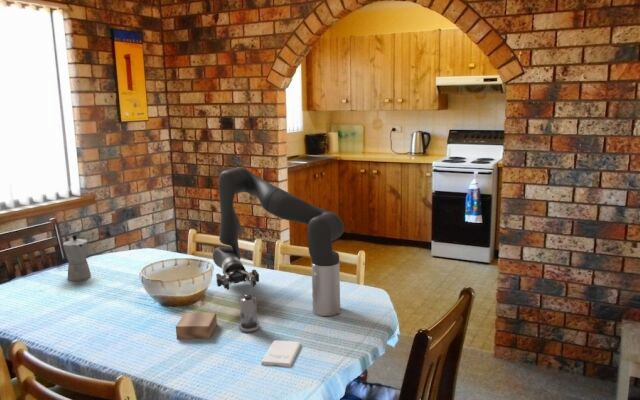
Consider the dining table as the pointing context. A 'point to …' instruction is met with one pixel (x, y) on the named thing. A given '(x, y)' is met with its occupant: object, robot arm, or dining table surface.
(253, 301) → the cylinder
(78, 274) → the coffeepot
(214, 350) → the dining table surface
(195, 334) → the stand
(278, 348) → the external hard drive
